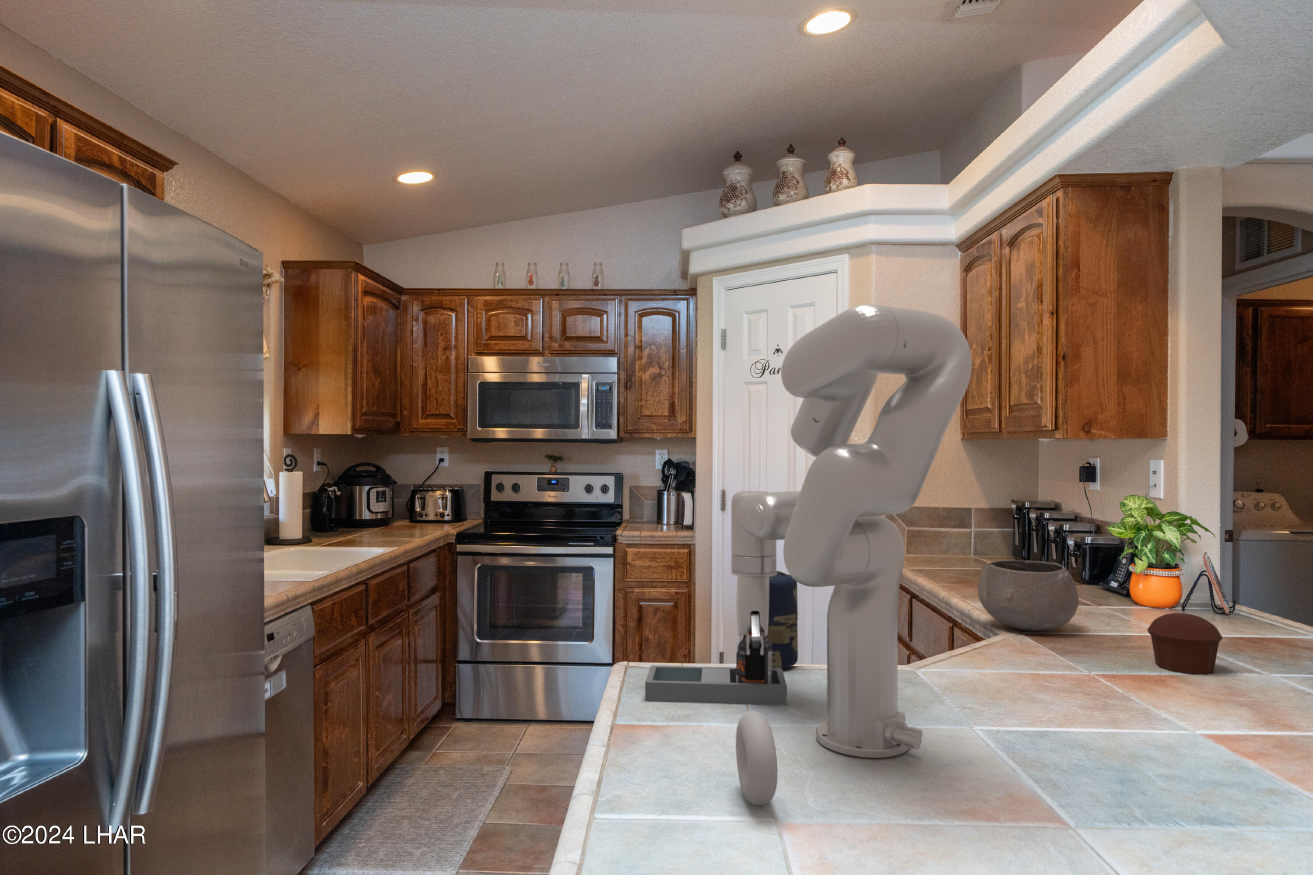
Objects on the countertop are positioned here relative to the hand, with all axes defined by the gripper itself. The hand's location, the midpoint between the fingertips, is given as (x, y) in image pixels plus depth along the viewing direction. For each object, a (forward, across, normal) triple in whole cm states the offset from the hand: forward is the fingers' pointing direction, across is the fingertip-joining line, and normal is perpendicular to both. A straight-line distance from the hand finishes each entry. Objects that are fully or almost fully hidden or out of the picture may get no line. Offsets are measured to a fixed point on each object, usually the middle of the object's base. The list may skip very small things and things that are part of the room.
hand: (754, 672), depth 126 cm
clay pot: (+4, -55, +65) cm, 85 cm away
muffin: (+4, -23, +81) cm, 85 cm away
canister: (+4, -18, +4) cm, 19 cm away
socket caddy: (+4, 0, -6) cm, 7 cm away
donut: (+4, +40, -1) cm, 40 cm away
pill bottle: (+4, 0, 0) cm, 4 cm away
